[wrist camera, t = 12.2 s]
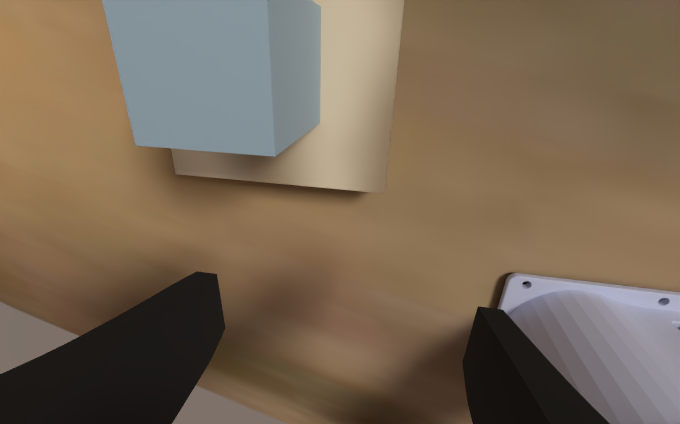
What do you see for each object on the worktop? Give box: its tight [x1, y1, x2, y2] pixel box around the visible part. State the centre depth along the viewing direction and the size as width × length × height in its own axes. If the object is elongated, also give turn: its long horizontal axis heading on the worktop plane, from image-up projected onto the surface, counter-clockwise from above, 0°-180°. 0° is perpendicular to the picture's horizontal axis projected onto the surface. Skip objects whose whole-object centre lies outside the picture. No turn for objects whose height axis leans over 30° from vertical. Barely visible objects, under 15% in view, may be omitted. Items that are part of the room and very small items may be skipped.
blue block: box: [102, 0, 321, 157], centre depth 12 cm, size 4×4×6 cm
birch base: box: [171, 0, 404, 193], centre depth 15 cm, size 11×11×2 cm
